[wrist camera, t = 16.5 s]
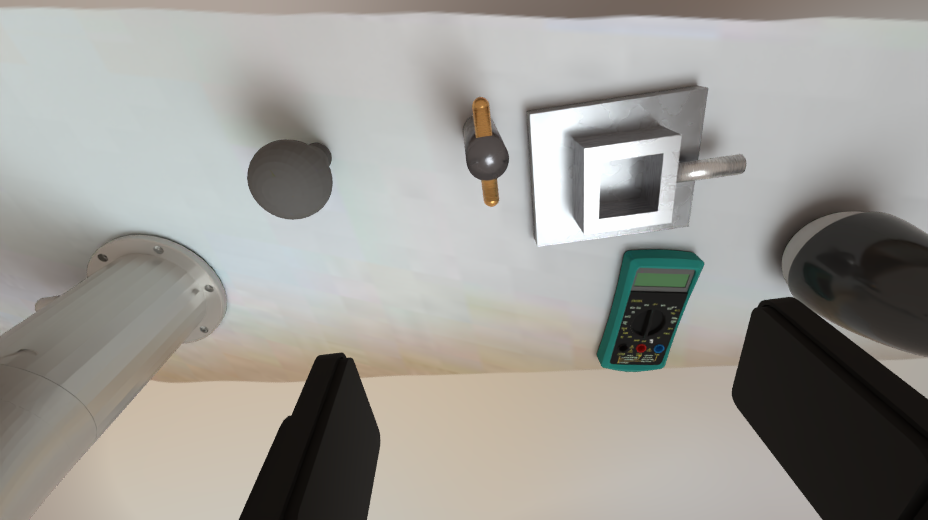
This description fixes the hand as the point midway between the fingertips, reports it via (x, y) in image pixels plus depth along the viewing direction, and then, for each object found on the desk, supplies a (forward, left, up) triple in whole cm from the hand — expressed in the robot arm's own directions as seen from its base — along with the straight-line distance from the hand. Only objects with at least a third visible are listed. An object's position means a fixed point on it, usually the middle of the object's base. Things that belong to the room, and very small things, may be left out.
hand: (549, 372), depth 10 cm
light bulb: (-14, 0, -28) cm, 32 cm away
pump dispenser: (+32, -16, -28) cm, 46 cm away
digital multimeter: (+15, -21, -29) cm, 39 cm away
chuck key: (0, 0, -28) cm, 28 cm away
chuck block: (+12, -5, -28) cm, 31 cm away
